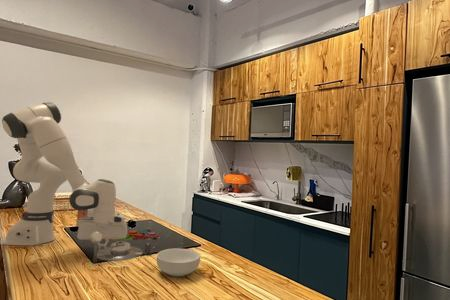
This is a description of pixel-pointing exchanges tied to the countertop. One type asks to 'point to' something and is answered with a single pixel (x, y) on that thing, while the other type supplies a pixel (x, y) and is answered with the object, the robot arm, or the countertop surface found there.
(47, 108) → the robot arm
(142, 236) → the gear puzzle
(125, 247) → the cover
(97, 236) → the lever with square base
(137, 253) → the turntable
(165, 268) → the cereal bowl
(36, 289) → the countertop surface
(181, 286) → the countertop surface
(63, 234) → the countertop surface
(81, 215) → the small box
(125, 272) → the countertop surface
